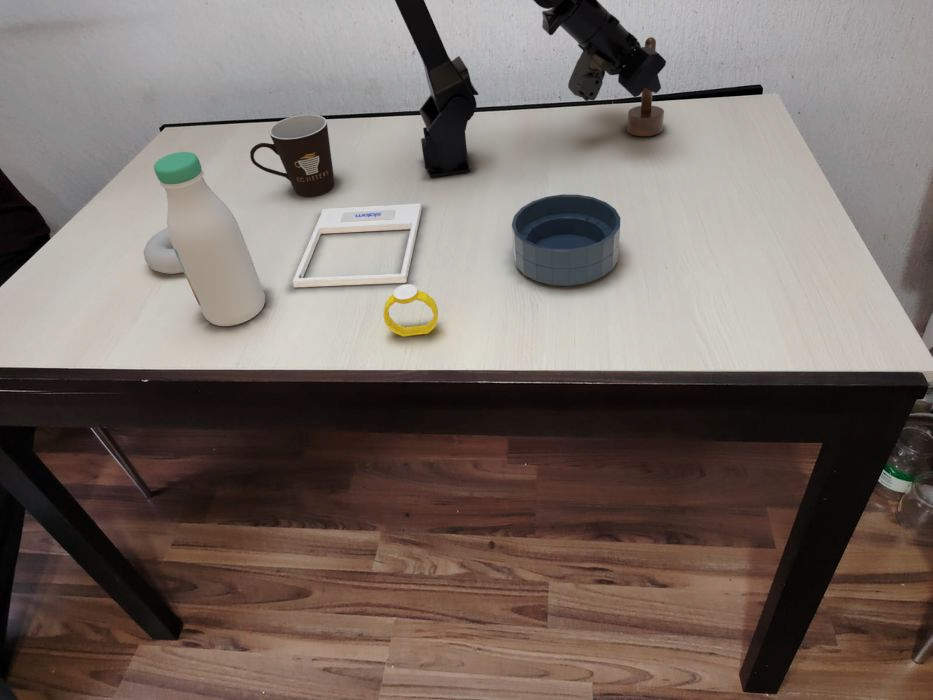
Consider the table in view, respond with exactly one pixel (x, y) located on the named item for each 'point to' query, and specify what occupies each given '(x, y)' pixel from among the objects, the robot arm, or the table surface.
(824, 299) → the table surface
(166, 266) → the donut
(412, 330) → the watch
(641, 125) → the wooden plunger
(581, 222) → the bowl
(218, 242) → the milk bottle
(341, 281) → the photo frame
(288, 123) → the coffee mug
